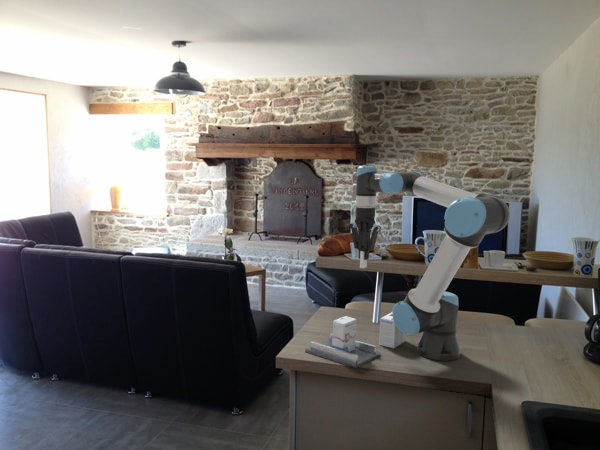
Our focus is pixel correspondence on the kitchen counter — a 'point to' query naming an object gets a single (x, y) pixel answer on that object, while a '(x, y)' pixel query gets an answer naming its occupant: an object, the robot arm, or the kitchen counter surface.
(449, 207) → the robot arm
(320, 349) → the rail board
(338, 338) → the ink box
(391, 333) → the light bulb box
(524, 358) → the kitchen counter surface
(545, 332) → the kitchen counter surface
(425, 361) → the kitchen counter surface
